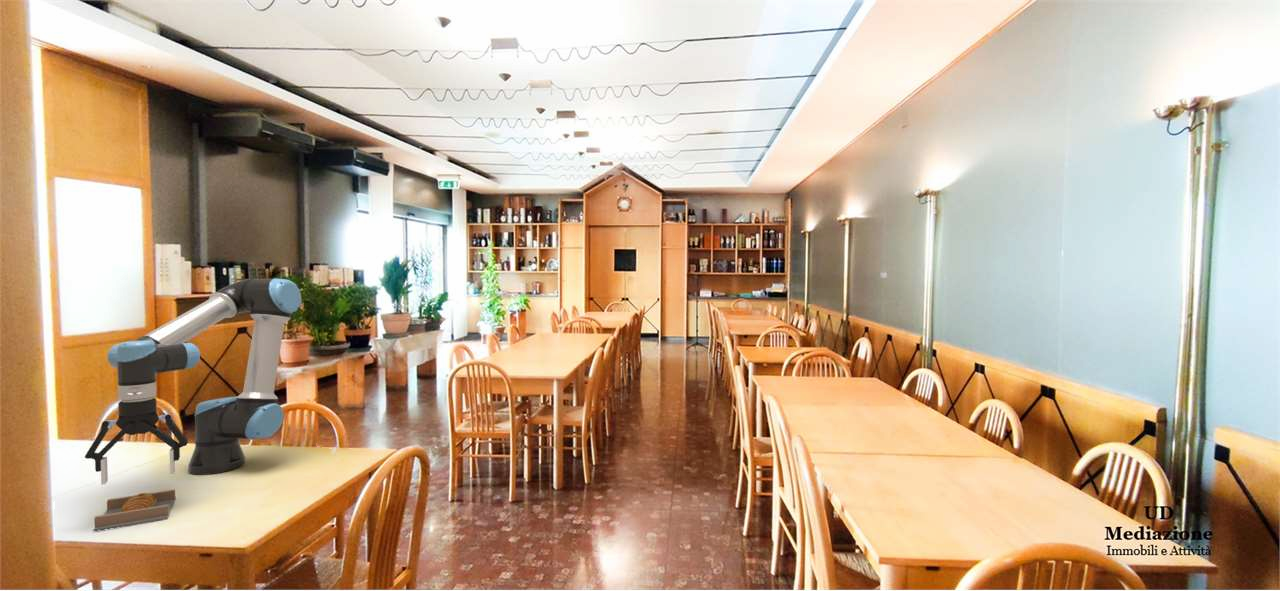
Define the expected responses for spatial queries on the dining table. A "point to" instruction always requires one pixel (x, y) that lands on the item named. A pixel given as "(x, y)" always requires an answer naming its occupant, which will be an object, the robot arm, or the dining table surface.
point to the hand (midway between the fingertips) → (139, 477)
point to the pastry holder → (135, 511)
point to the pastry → (139, 502)
